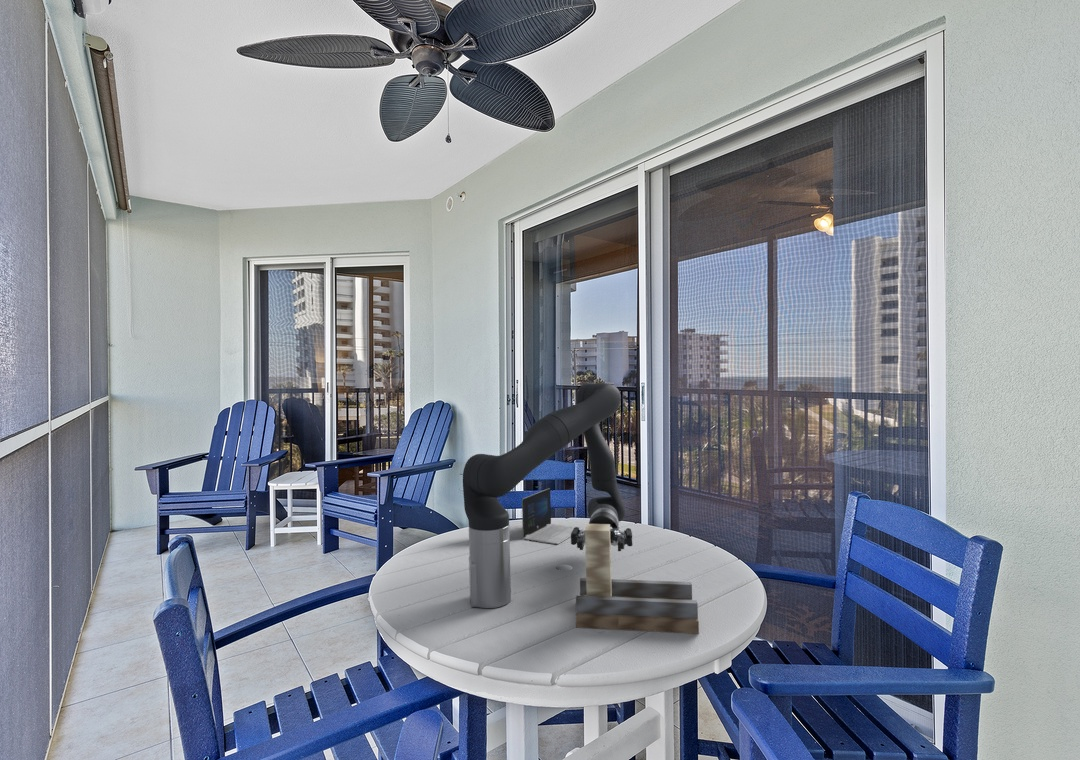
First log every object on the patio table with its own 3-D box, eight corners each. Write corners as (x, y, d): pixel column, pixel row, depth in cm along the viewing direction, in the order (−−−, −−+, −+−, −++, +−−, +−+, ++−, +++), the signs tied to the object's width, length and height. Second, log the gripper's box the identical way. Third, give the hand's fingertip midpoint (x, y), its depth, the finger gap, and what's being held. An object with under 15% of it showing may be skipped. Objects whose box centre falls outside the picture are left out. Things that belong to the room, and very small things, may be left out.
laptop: (557, 546, 163) (556, 502, 162) (522, 540, 169) (521, 498, 169) (583, 530, 178) (582, 490, 178) (550, 526, 184) (549, 487, 184)
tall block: (586, 606, 113) (585, 530, 113) (588, 596, 118) (586, 523, 118) (611, 607, 112) (609, 530, 112) (611, 597, 117) (610, 524, 117)
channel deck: (576, 627, 109) (575, 600, 109) (581, 600, 122) (580, 576, 122) (698, 633, 106) (698, 605, 105) (691, 605, 118) (690, 580, 118)
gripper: (575, 510, 138) (568, 529, 122) (631, 511, 136) (632, 530, 120) (575, 540, 138) (568, 562, 122) (632, 541, 136) (632, 564, 120)
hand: (600, 546), depth 121 cm, fingers open, 8 cm apart
